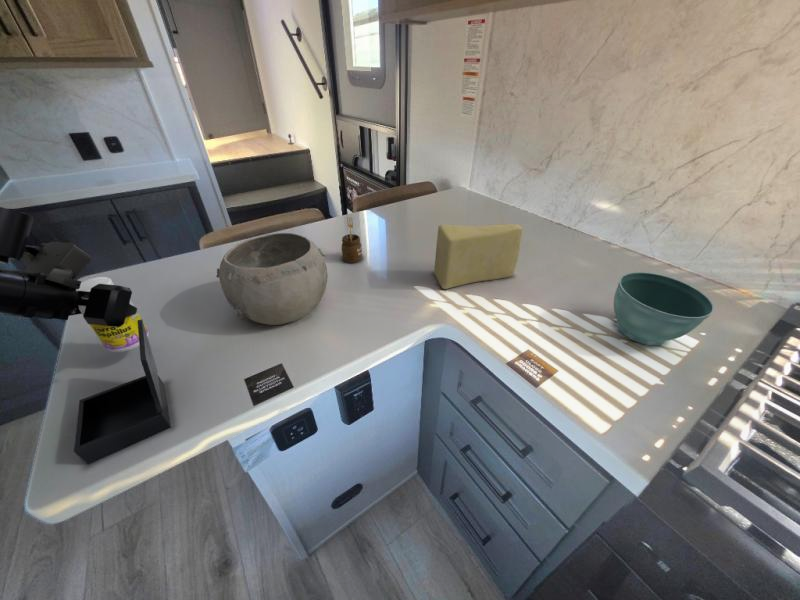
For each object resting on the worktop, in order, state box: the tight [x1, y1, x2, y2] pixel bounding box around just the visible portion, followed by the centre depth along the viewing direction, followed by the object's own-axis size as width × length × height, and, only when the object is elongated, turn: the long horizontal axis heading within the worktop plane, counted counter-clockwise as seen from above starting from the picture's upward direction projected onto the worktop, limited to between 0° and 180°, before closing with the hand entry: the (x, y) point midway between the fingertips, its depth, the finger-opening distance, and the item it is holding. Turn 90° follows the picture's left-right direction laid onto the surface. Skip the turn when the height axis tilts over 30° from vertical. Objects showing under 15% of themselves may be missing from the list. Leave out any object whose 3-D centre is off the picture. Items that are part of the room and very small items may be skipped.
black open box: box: [73, 375, 171, 466], centre depth 50 cm, size 10×10×4 cm
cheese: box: [433, 223, 523, 290], centre depth 84 cm, size 22×10×15 cm, turn 100°
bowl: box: [215, 232, 329, 326], centre depth 72 cm, size 23×23×15 cm
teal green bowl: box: [613, 271, 715, 346], centre depth 68 cm, size 16×16×11 cm
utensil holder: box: [341, 216, 363, 264], centre depth 93 cm, size 6×6×12 cm
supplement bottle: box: [76, 276, 150, 353], centre depth 56 cm, size 7×7×13 cm
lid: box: [138, 318, 163, 413], centre depth 48 cm, size 11×10×1 cm
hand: (118, 309), depth 57 cm, fingers closed on supplement bottle, 6 cm apart
